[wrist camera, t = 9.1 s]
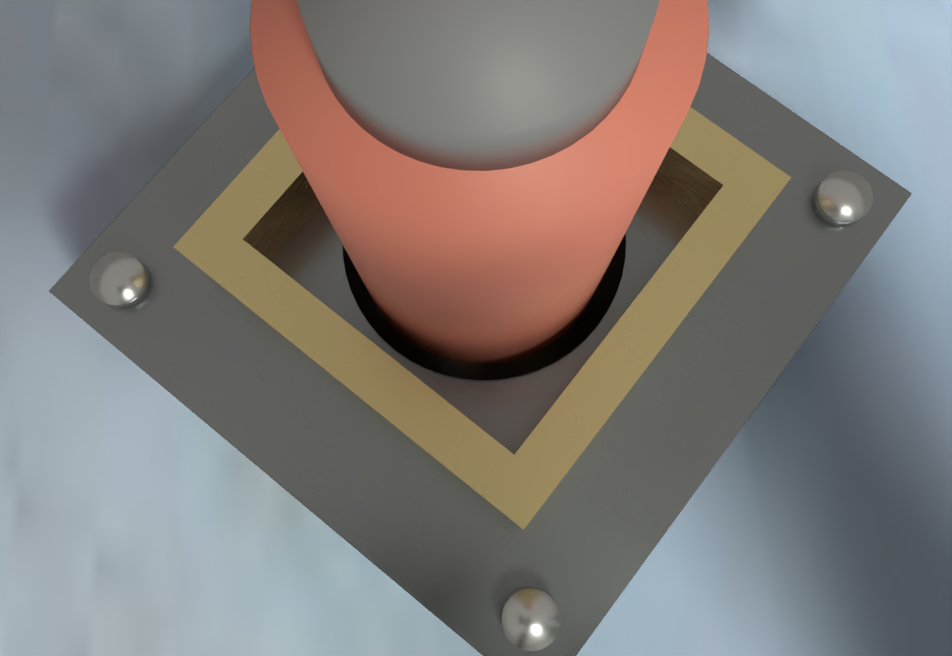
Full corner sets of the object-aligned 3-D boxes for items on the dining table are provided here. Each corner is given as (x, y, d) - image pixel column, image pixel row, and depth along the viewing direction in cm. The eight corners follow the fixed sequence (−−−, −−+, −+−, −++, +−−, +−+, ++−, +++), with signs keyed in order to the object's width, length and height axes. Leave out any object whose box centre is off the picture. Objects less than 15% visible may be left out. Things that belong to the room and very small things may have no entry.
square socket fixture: (533, 678, 20) (548, 730, 15) (98, 315, 21) (-2, 266, 17) (863, 228, 22) (960, 158, 17) (442, -66, 24) (433, -197, 19)
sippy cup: (577, 387, 18) (733, 192, 7) (332, 334, 18) (91, 61, 7) (624, 156, 19) (824, -345, 8) (392, 109, 20) (264, -439, 8)
